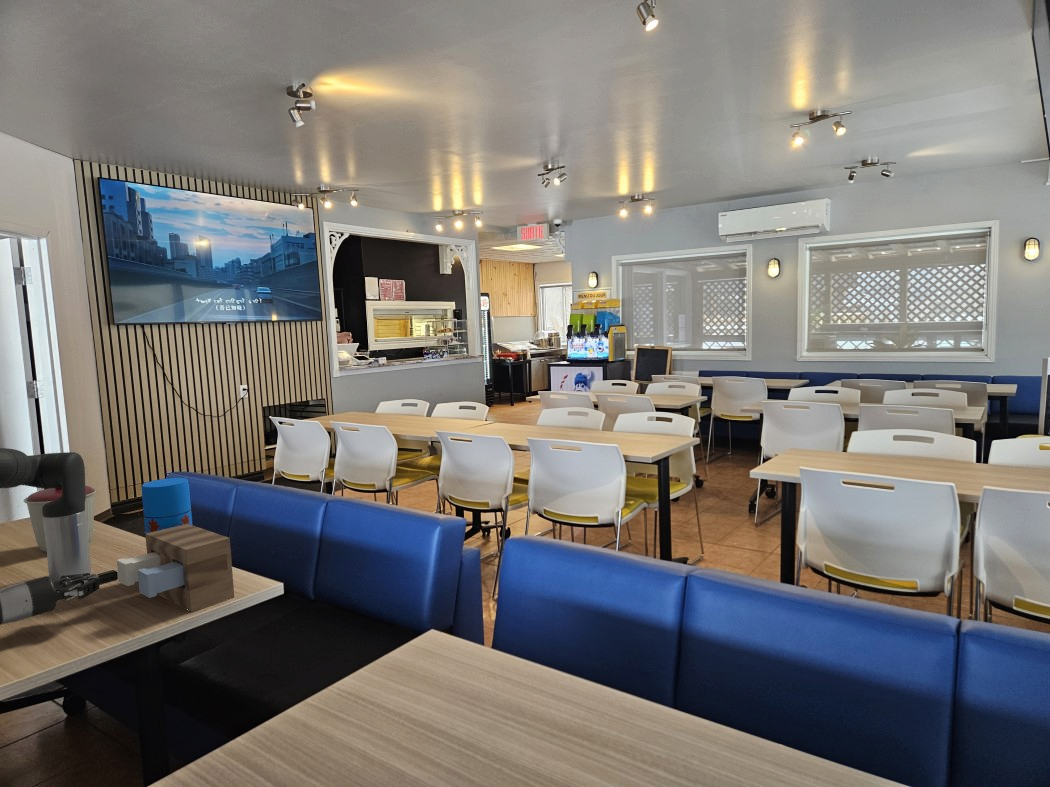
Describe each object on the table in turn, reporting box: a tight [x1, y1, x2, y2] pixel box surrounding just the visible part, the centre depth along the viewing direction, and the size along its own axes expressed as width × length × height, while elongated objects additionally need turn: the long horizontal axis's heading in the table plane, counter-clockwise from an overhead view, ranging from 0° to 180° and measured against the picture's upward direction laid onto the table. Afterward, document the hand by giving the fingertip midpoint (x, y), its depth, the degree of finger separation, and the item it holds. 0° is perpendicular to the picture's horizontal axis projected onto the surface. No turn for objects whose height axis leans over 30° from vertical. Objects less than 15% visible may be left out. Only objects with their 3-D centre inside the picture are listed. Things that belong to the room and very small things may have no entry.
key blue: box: [137, 561, 185, 599], centre depth 148 cm, size 5×12×5 cm, turn 141°
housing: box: [144, 524, 235, 613], centre depth 157 cm, size 22×10×14 cm, turn 51°
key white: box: [116, 552, 161, 587], centre depth 155 cm, size 5×12×5 cm, turn 141°
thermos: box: [141, 477, 193, 534], centre depth 169 cm, size 11×11×25 cm
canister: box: [23, 485, 97, 553], centre depth 198 cm, size 18×18×21 cm
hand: (116, 574), depth 150 cm, fingers closed
